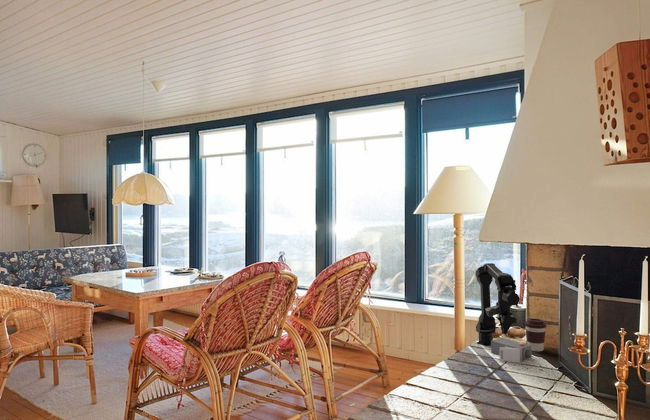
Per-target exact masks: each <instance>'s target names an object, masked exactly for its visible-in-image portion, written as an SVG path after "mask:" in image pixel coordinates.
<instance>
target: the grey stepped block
mask: <svg viewBox="0 0 650 420" xmlns="http://www.w3.org/2000/svg"><path fill="white" fill-rule="evenodd" d="M500 348H522V362H523V361H527V360H529V359H532V354H533V353H532V352H533V351H532V349H531V345H528V343H525V342H521V341H516V340H514V339H510V338H509V339H508V338H505V337H499V338H496V339H493V340H492V341H491V345H490V353H491V354H494V355H498V356H500Z"/></svg>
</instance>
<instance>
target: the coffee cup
mask: <svg viewBox="0 0 650 420" xmlns="http://www.w3.org/2000/svg"><path fill="white" fill-rule="evenodd" d="M524 326H525V332H526V333H525V335H526V341H527V343H526V344H528V345H531V349H532V352H542V351H544V348H545V341H546V328H547V323H546V322H544V321H543V319H540V318H529V319H527V320H526V321H525V322H524Z"/></svg>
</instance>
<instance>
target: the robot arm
mask: <svg viewBox="0 0 650 420" xmlns="http://www.w3.org/2000/svg"><path fill="white" fill-rule="evenodd" d="M475 277H476V282H477V283H478V284H479V286H480V288H479V289H480V290H479V291H480V308H481V309H480V310H481V312H480V315H479V316H478V321H477V324H476V325H475V331H476V332H477V333H478V341H477V342H476V344H478V345H481V346H485V347H488V346H491V341H492V340H494V336H493V334H496V333H495V332H496V328H497V323H496V319H497V321H498V322H499V325H500V329H501V332H502V333H503V335H508V333H509V330H510V328H511V327H512V325H513V324H518V318H516V316H514V315H513V313H512V307H513V306H514V307H515V306H516V305H518V304H519V303H520V299H521V298H520V296H519V294H518V293H516V291H517V284H516V282H515V280H514V278H513V276H512V275H511V274H510V273H506V272H503V271H502V270H501V269H500V268H498V267H497V266H496V264H495V263H492V262H490V263H488V262H487V263H484V264H483V265H482V266H479V267H478V268H477V269H476V270H475ZM493 279H494V284H495V286H496V290H497V301H496V303H495V305H493V306H491V304H492V303H491V284H492V282H493ZM494 316H495V317H494Z"/></svg>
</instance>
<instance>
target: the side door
mask: <svg viewBox="0 0 650 420" xmlns="http://www.w3.org/2000/svg"><path fill="white" fill-rule="evenodd" d="M499 361H501V362H502V361H503V362H520V363H522V362H523V361H522V348H500V355H499Z"/></svg>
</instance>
